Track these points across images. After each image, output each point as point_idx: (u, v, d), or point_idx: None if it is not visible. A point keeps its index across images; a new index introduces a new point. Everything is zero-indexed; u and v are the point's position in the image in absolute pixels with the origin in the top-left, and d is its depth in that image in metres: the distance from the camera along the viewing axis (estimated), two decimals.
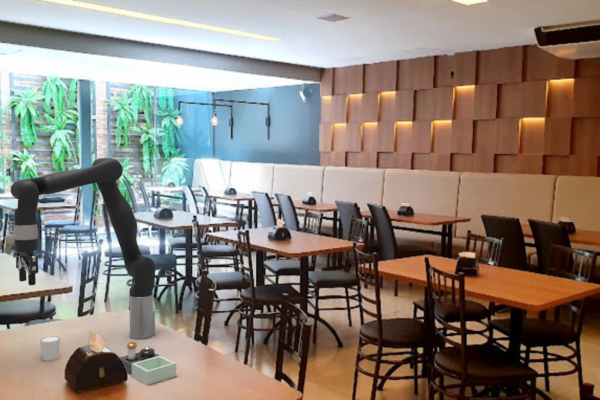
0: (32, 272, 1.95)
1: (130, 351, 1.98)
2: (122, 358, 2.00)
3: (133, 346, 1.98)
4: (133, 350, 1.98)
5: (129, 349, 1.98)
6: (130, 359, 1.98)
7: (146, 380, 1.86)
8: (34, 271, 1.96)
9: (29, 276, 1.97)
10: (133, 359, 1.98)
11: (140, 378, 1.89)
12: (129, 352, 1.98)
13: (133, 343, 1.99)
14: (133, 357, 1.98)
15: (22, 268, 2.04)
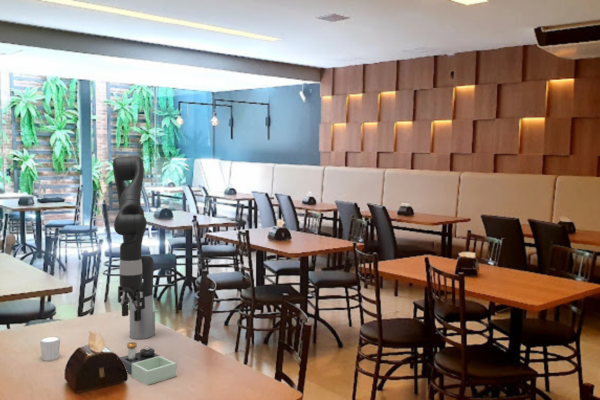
0: (139, 308, 1.92)
1: (130, 351, 1.98)
2: (122, 358, 2.00)
3: (133, 346, 1.98)
4: (133, 350, 1.98)
5: (129, 349, 1.98)
6: (130, 359, 1.98)
7: (146, 380, 1.86)
8: (141, 307, 1.93)
9: (135, 312, 1.94)
10: (133, 359, 1.98)
11: (140, 378, 1.89)
12: (129, 352, 1.98)
13: (133, 343, 1.99)
14: (133, 357, 1.98)
15: (125, 303, 2.01)
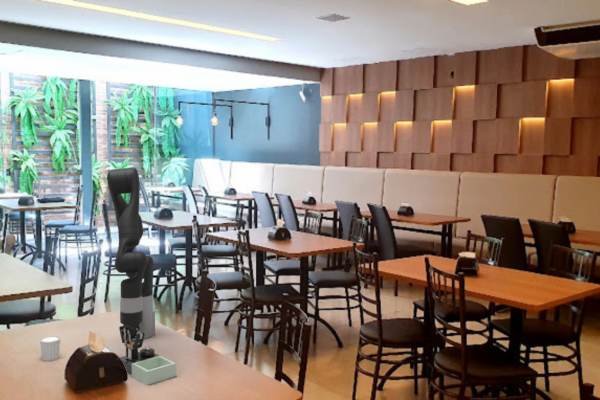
0: (136, 347, 1.95)
1: (130, 351, 1.98)
2: (122, 358, 2.00)
3: None
4: None
5: (129, 349, 1.98)
6: (130, 359, 1.98)
7: (146, 380, 1.86)
8: (138, 346, 1.96)
9: (132, 350, 1.97)
10: None
11: (140, 378, 1.89)
12: (129, 352, 1.98)
13: None
14: None
15: None
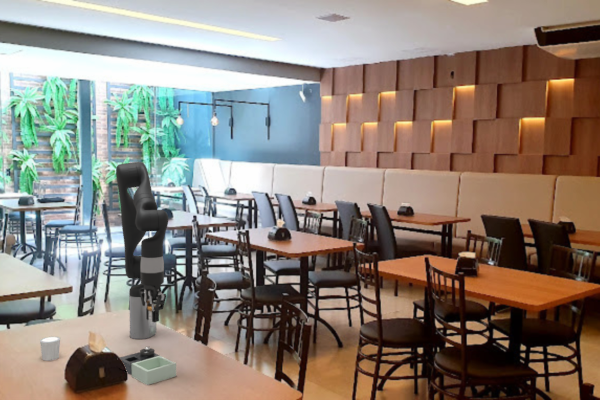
0: (157, 309, 1.88)
1: (150, 314, 1.90)
2: (122, 358, 2.00)
3: None
4: None
5: (150, 311, 1.90)
6: (151, 322, 1.90)
7: (146, 380, 1.86)
8: (159, 307, 1.88)
9: (153, 312, 1.89)
10: (154, 322, 1.91)
11: (140, 378, 1.89)
12: (150, 314, 1.90)
13: None
14: None
15: None
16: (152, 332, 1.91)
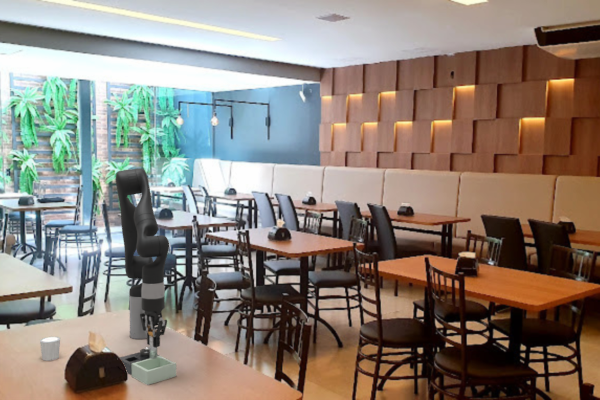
0: (158, 334, 1.88)
1: (151, 339, 1.91)
2: (122, 358, 2.00)
3: None
4: None
5: (151, 337, 1.91)
6: (151, 347, 1.91)
7: (146, 380, 1.86)
8: (160, 333, 1.89)
9: (154, 338, 1.90)
10: None
11: (140, 378, 1.89)
12: (150, 340, 1.91)
13: None
14: None
15: None
16: (153, 357, 1.92)
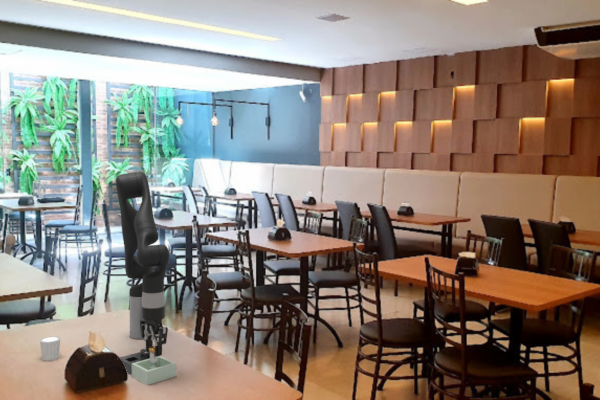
0: (161, 343, 1.88)
1: (152, 355, 1.91)
2: (122, 358, 2.00)
3: None
4: None
5: (151, 353, 1.91)
6: (152, 363, 1.92)
7: (146, 380, 1.86)
8: (162, 342, 1.88)
9: (156, 347, 1.90)
10: (155, 363, 1.92)
11: (140, 378, 1.89)
12: (151, 356, 1.92)
13: None
14: (155, 361, 1.92)
15: (148, 338, 1.94)
16: None
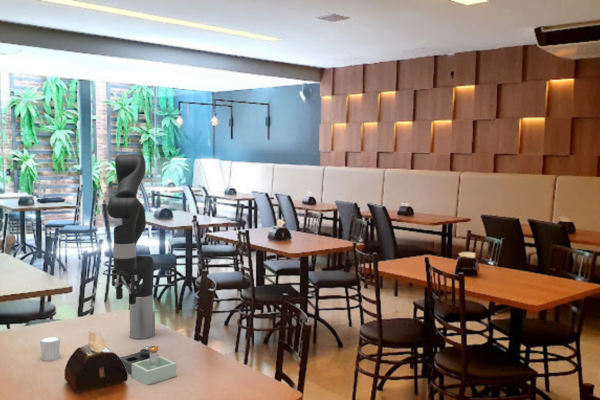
0: (134, 291, 1.93)
1: (151, 355, 1.92)
2: (122, 358, 2.00)
3: (155, 350, 1.91)
4: (155, 354, 1.92)
5: (151, 353, 1.92)
6: (152, 363, 1.92)
7: (146, 380, 1.86)
8: (136, 290, 1.93)
9: (130, 295, 1.94)
10: (155, 363, 1.92)
11: (140, 378, 1.89)
12: (151, 356, 1.92)
13: (154, 347, 1.93)
14: (155, 361, 1.92)
15: (119, 286, 2.01)
16: None
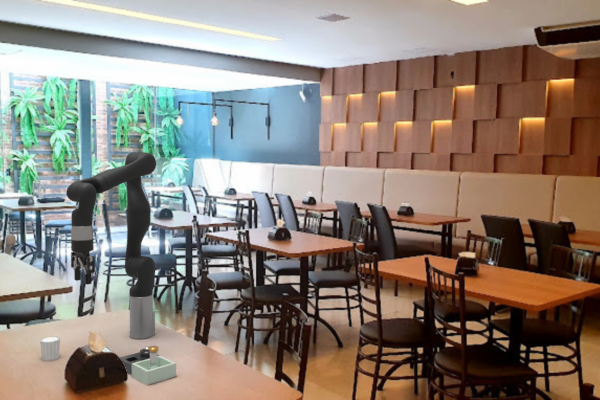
0: (89, 271, 2.02)
1: (151, 355, 1.92)
2: (122, 358, 2.00)
3: (155, 350, 1.91)
4: (155, 354, 1.92)
5: (151, 353, 1.92)
6: (152, 363, 1.92)
7: (146, 380, 1.86)
8: (91, 270, 2.02)
9: (86, 275, 2.04)
10: (155, 363, 1.92)
11: (140, 378, 1.89)
12: (151, 356, 1.92)
13: (155, 347, 1.93)
14: (155, 361, 1.92)
15: (77, 268, 2.10)
16: None
